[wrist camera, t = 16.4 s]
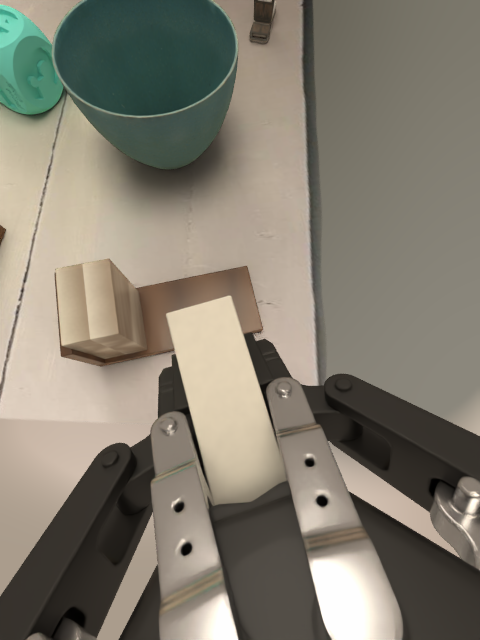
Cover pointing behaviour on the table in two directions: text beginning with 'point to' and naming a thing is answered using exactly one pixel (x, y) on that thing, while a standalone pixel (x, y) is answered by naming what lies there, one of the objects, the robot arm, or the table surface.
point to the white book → (225, 402)
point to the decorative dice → (26, 65)
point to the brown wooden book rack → (136, 310)
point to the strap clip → (262, 19)
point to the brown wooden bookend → (1, 233)
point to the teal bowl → (149, 74)
